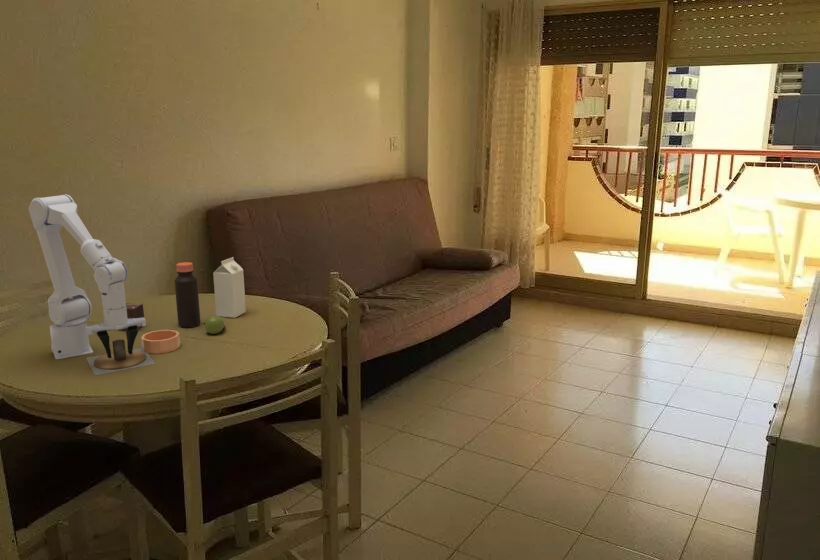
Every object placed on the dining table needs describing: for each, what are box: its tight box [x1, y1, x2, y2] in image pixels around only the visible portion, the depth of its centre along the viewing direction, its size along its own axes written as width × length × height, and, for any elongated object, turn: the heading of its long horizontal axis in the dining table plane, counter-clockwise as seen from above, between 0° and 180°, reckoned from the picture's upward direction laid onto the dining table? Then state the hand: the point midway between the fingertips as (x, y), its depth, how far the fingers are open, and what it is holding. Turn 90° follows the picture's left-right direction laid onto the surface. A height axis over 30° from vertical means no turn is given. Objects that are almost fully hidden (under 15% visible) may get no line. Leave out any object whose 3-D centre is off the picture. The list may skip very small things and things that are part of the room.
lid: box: [94, 339, 146, 370], centre depth 180 cm, size 13×13×6 cm
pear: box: [204, 315, 226, 335], centre depth 207 cm, size 6×5×10 cm
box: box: [118, 302, 145, 331], centre depth 209 cm, size 6×6×7 cm
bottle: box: [174, 261, 201, 329], centre depth 211 cm, size 7×7×20 cm
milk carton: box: [212, 256, 247, 319], centre depth 222 cm, size 7×7×19 cm
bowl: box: [140, 329, 181, 355], centre depth 191 cm, size 10×10×4 cm
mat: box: [85, 347, 156, 376], centre depth 181 cm, size 15×15×1 cm
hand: (119, 355), depth 180 cm, fingers open, 5 cm apart
